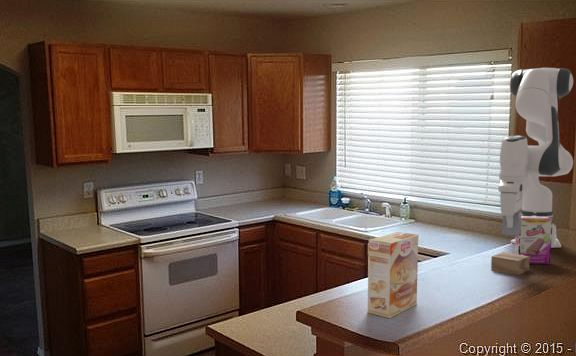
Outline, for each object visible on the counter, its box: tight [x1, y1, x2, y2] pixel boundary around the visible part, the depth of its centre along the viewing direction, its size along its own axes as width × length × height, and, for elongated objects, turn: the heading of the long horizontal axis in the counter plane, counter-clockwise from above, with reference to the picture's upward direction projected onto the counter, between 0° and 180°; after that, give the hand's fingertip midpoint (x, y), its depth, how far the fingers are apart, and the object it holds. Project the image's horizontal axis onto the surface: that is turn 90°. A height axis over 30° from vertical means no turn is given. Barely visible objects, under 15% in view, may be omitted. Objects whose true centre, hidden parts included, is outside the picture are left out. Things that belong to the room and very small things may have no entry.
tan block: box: [490, 251, 530, 276], centre depth 190 cm, size 9×9×5 cm
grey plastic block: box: [501, 211, 521, 236], centre depth 188 cm, size 5×5×7 cm
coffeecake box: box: [367, 231, 419, 319], centre depth 149 cm, size 15×7×20 cm, turn 139°
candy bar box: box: [514, 216, 554, 265], centre depth 199 cm, size 11×5×16 cm, turn 84°
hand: (511, 225), depth 188 cm, fingers closed on grey plastic block, 5 cm apart
